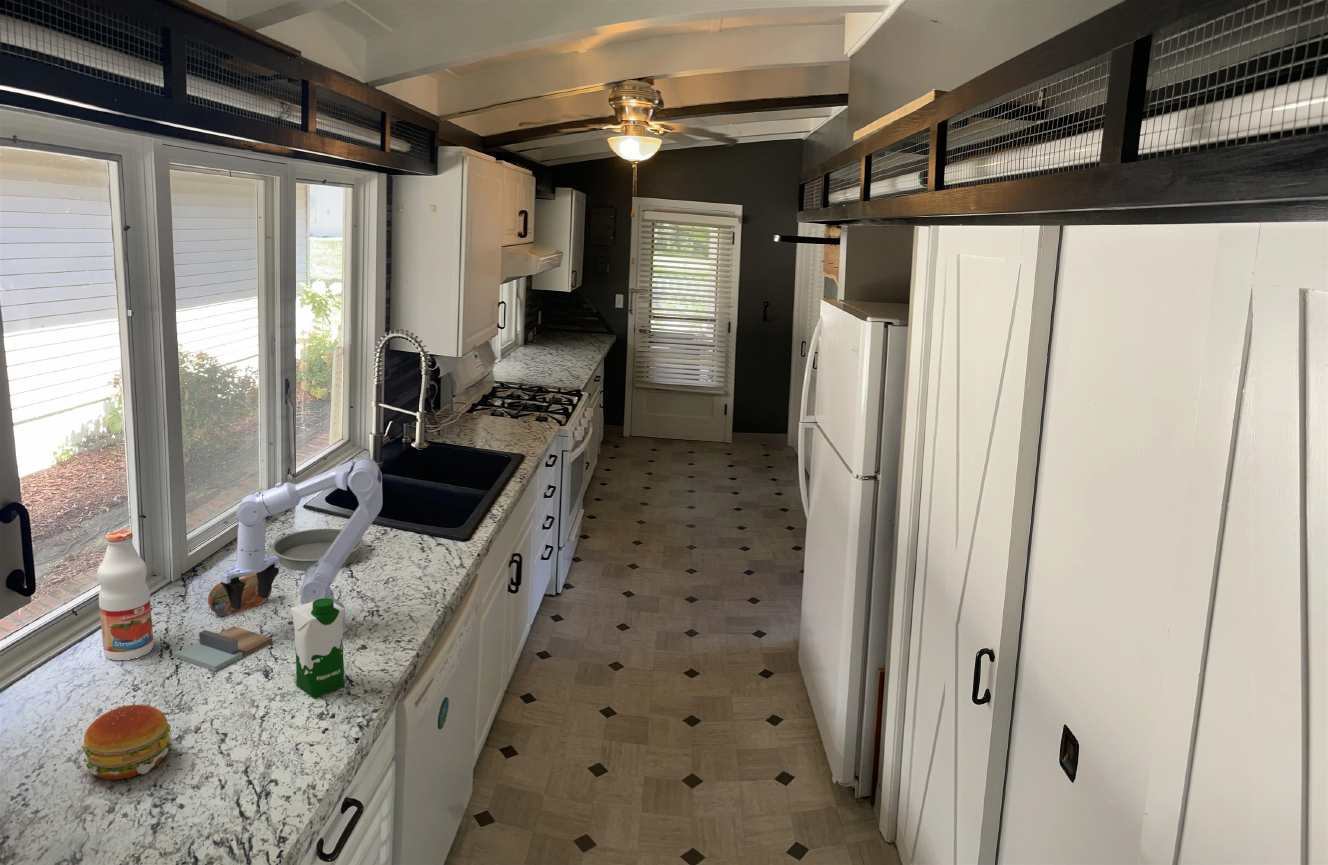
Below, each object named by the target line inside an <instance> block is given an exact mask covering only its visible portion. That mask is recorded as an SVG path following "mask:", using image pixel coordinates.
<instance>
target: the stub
mask: <svg viewBox="0 0 1328 865" xmlns="http://www.w3.org/2000/svg"><path fill="white" fill-rule="evenodd" d="M198 635H199V636H198V637H199V641H198V642H196V643H193V644H192V645H190V646H187V647H186V648H183V649H181V650H179V651H177V652H175V655H174V656H175V658H176V657H177V658H180V659H182V660H181V661H183V660H185V661H184V662H186V661H188V662H187V663H189V662H190V663H189V664H192V665H195V664H196V665H195V666H198V667H202V668H204V669H207V670H210V671H213V672H215V671H216V672H217V671H219V670H221V669H223V668H225V667H227V666H229V665H231V664H232V663H235V662H237V661H239V660H241V659H243V658H244V657H243V656H242V652H239V651H238V640H235V639H232V638H229V637H226V636H223V635H219V633H215V632H212V631H209V630H206V629H204V630H201V631H199V634H198ZM177 658H176V659H177ZM180 659H179V660H180ZM228 664H229V665H228Z"/></svg>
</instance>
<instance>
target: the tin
mask: <svg viewBox="0 0 1328 865" xmlns="http://www.w3.org/2000/svg"><path fill="white" fill-rule="evenodd" d="M239 580H240V582H243V583H245V584H246V585H245V587H244V589H243V593H242V600H241V607H240V609H235V608H232V607H231V604H230V600H229V597H228V594H227V592H226V590H225V588H224V587H223V585H222V584H221V582H219V583H217V584H216V585H214V586H213V587H212V589H211V590H210V592H209V594H208V595H207V604H208V607H209V610H211V612H213V613H215V614H216V615H217V616H219V617H227V616H230V615H233V614H237V613H239V612H243V611H246V610H250V609H253V608H256V607H260V606H262V605H264V604H265V603H266V602H267V601H268V599H269V598H270V596H271V594H272V590H273V585H271V588H270V591H269V594H268V597H267V598H262V597H259V595H258V579H257V574H256V573H253V574H248V575H246V576H243V577H240V578H239Z"/></svg>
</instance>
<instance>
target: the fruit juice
mask: <svg viewBox="0 0 1328 865" xmlns="http://www.w3.org/2000/svg"><path fill="white" fill-rule="evenodd" d="M133 538H134V537H133V532H132V530H129V529H116V530H112V531H111V530H110V531H109V532H107V533H106V534H105V543H106V544H107V546H106V550H105V552H104V553H105V554H104V557H103V559H102V561H101V563H100V564H99V566H98V568H97V571H96V578H97V580H98V584H99V585H100V590H99V592H98V606H99V607H98V608H99V617H100V618H99V619H100V627H101V636H102V637H101V638H102V646H103V648H102V650H103V654H104V656H106V657H107V658H109V659H113V660H128V659H133V658H136V657H140V656H142V655H145V654H146V653H148V652H149V651H151V649H152V648H154V632H153V621H152V620H153V619H152V608H151V607H152V606H151V595H150V589H149V586H148V584H147V582H146V577H147V574H148V573H147V572H148V569H147V564H146V562H145V561H144V560H143V558H142V557H141V556H140V555H139V553H138V552H137V550H136V548H135V546H134V544H133V542H132V540H133ZM152 650H153V649H152ZM148 654H149V653H148ZM145 656H146V655H145ZM106 657H105V658H106ZM107 658H106V659H107ZM140 658H141V657H140ZM109 659H108V660H109Z"/></svg>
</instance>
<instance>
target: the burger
mask: <svg viewBox="0 0 1328 865" xmlns="http://www.w3.org/2000/svg"><path fill="white" fill-rule="evenodd" d="M170 733H171V724H170V723H169V722H168V719H167V717H166V714H165V713H163V712H162V711H161V710H160V709H158V708H156V707H155V706H151V705H145V704H129V705H123V706H119V707H116V708H112V709H111V710H109V711H107V712H104V714H101V715H100V716H98V717H97V718H96V719H94V721H93V722H92V723H91V724H90V725H89V726H88V727H87V729H86V731H85V733H84V738H83V744H82V746H81V748H82V749H83V750H84V753H85V756H84V758H83V762H84V763H85V765H86V768H87V770H88V772H89V773H91V774H92V775H94V776H96V777H98V778H100V779H105V780H121V779H126V778H127V779H128V778H131V777H134V776H139V775H140V774H141V775H146V774H147V773H148V772H150V770H152V768H154V767H156V766H157V765H158V764H159V763H160V762H162V761H163V760H164V758H165V756H166V755H167V754H168V751H169V749H171V750H172V746H173V738H172V737H171V734H170Z"/></svg>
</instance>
